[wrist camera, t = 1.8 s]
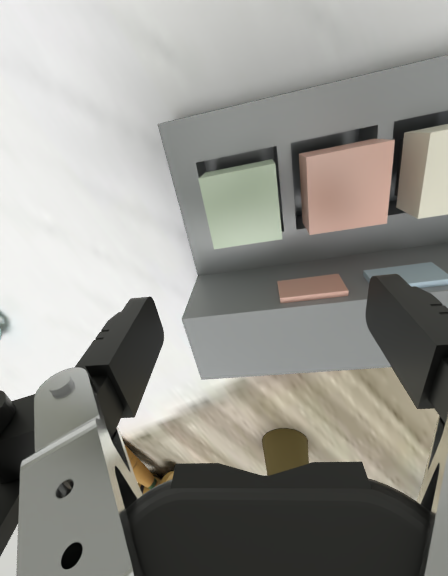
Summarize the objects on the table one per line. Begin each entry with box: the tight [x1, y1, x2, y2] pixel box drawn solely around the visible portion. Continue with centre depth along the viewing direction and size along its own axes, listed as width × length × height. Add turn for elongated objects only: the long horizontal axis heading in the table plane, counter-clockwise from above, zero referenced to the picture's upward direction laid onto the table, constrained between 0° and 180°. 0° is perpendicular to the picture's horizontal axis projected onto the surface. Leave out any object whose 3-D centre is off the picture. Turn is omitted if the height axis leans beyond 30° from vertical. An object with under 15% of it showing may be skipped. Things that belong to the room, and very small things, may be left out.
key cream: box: [394, 124, 448, 219], centre depth 15 cm, size 4×4×4 cm
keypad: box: [158, 55, 448, 380], centre depth 17 cm, size 25×15×10 cm, turn 101°
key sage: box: [198, 159, 282, 249], centre depth 17 cm, size 4×4×4 cm
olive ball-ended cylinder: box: [262, 428, 309, 476], centre depth 32 cm, size 6×6×11 cm
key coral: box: [299, 139, 395, 235], centre depth 16 cm, size 4×4×4 cm
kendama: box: [125, 445, 174, 494], centre depth 41 cm, size 8×6×18 cm
